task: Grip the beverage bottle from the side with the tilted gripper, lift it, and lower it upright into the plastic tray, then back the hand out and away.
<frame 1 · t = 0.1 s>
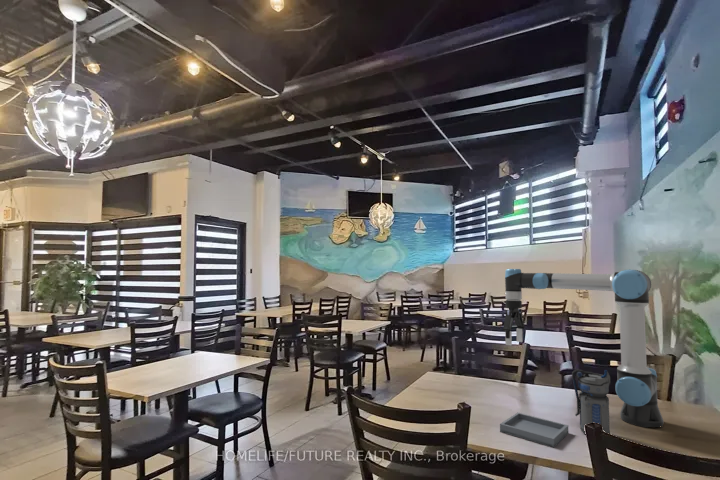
hand: (514, 343, 197), 28 cm above the table, tool pointing down, fingers open, 13 cm apart
beverage bottle: (592, 434, 157), on the table
tray: (534, 432, 158), on the table
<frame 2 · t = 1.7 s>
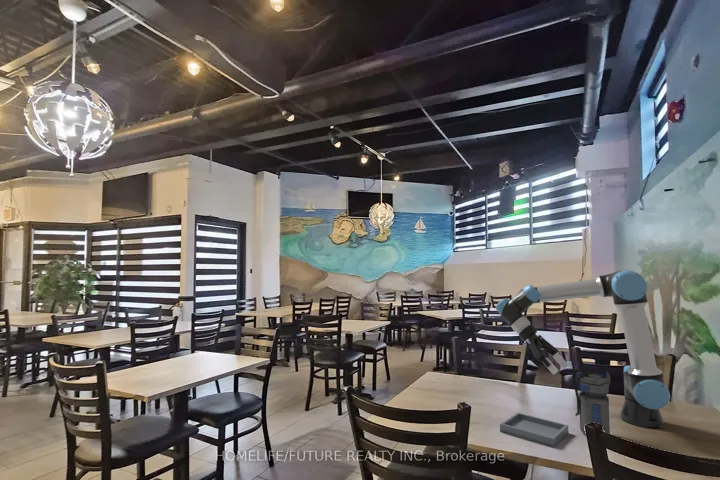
hand: (561, 369, 166), 23 cm above the table, tool tilted 45°, fingers open, 13 cm apart
nothing on the table moved.
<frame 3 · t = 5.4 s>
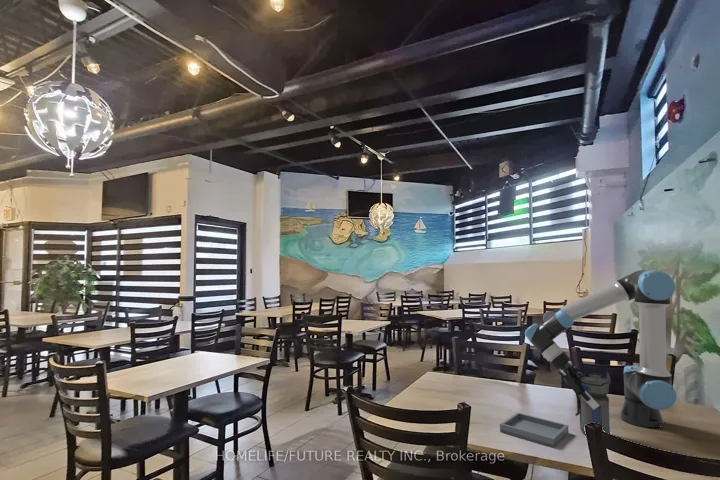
hand: (600, 404, 156), 12 cm above the table, tool tilted 45°, fingers closed on beverage bottle, 10 cm apart
beverage bottle: (592, 434, 157), on the table, touching gripper
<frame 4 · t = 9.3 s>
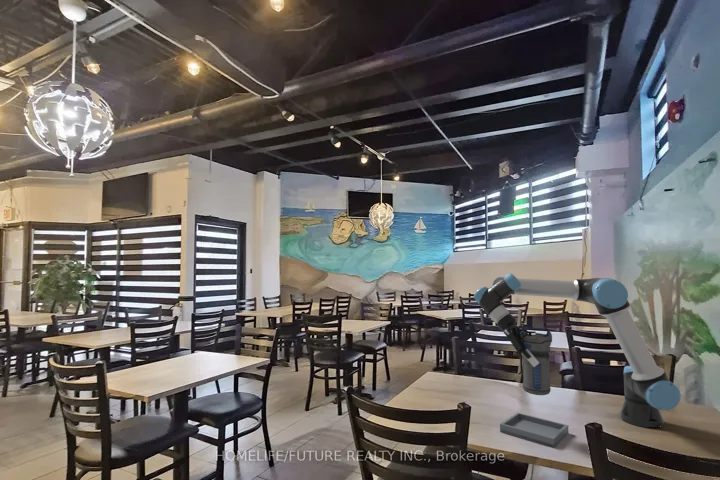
hand: (541, 362, 158), 28 cm above the table, tool tilted 45°, fingers closed on beverage bottle, 10 cm apart
beverage bottle: (534, 392, 159), point 15 cm above the table, touching gripper
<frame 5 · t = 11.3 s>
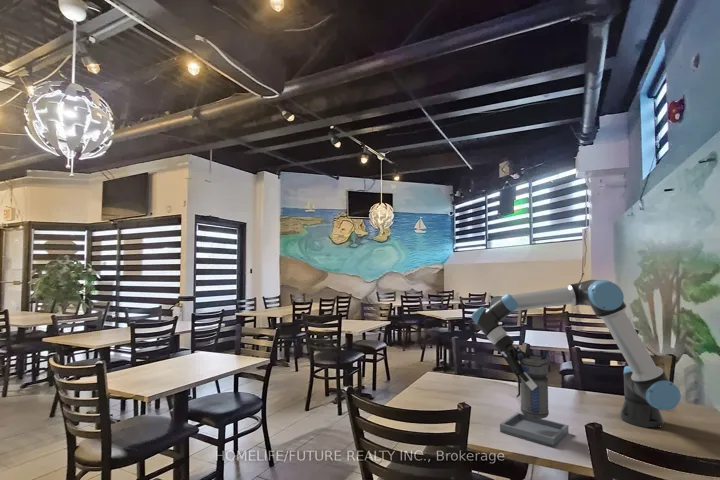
hand: (539, 385, 157), 19 cm above the table, tool tilted 45°, fingers closed on beverage bottle, 10 cm apart
beverage bottle: (532, 415, 159), point 7 cm above the table, touching gripper
when the fingers open (14 cm above the table, at t = 13.0 s): beverage bottle drops 1 cm, resting on tray.
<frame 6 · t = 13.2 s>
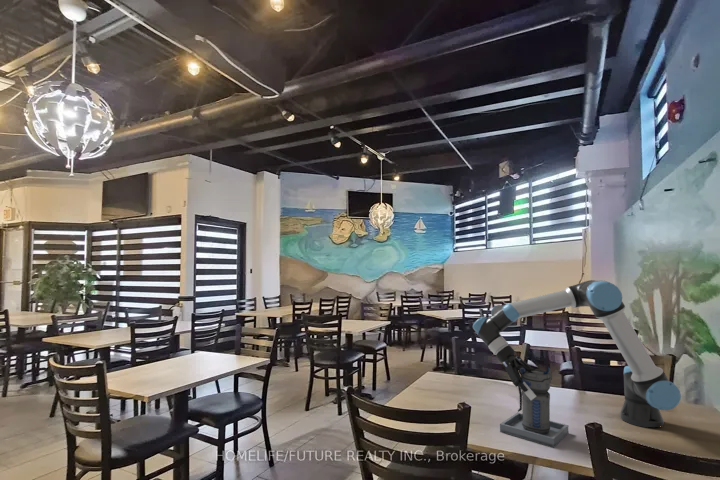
hand: (539, 394, 157), 15 cm above the table, tool tilted 45°, fingers open, 13 cm apart
beverage bottle: (533, 430, 158), point 1 cm above the table, touching tray
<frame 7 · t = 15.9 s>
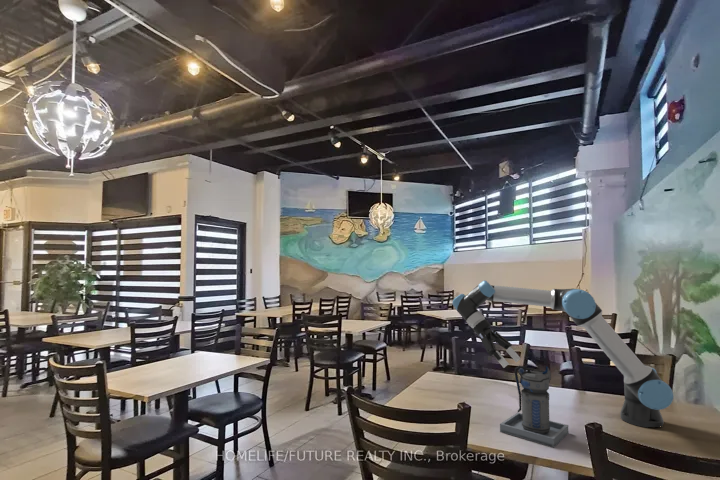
hand: (512, 363, 170), 24 cm above the table, tool tilted 45°, fingers open, 13 cm apart
nothing on the table moved.
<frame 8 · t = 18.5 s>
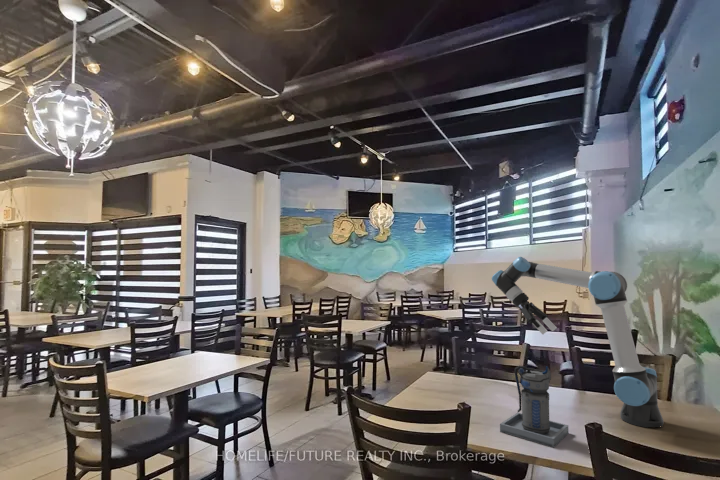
hand: (550, 331, 187), 36 cm above the table, tool tilted 45°, fingers open, 13 cm apart
nothing on the table moved.
at the end: beverage bottle inside the target area on the tray (0.4 cm from its centre), point 0.8 cm above the tray's base; beverage bottle tilted 0°; the gripper is holding nothing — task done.
